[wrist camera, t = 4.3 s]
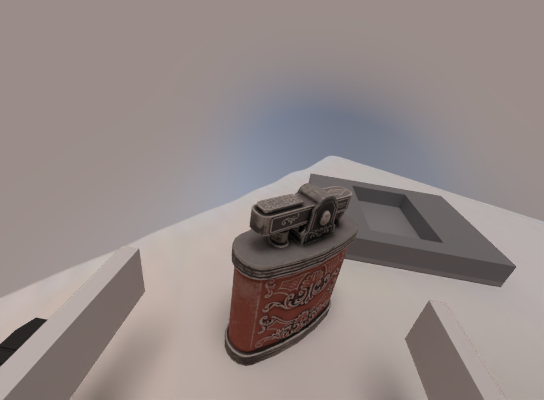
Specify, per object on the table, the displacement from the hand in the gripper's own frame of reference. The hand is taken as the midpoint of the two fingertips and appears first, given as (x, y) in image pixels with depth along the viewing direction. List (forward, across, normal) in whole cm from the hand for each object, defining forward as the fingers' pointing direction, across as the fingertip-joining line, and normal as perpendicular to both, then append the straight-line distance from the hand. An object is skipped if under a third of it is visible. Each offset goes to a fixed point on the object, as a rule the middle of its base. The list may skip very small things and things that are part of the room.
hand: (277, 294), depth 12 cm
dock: (+18, +12, -6) cm, 22 cm away
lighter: (+3, +1, -6) cm, 7 cm away
